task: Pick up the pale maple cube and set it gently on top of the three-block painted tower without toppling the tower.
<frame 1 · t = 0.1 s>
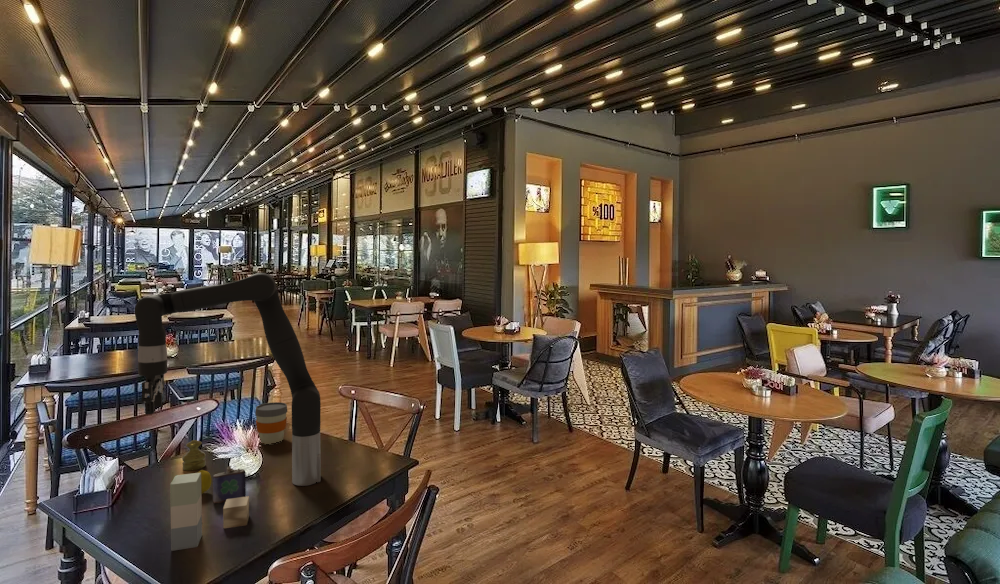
hand: (153, 409, 157), 29 cm above the table, tool pointing down, fingers open, 8 cm apart
tower top: (186, 499, 134), point 12 cm above the table, touching tower mid
reusable coffee cup: (271, 441, 212), on the table
lemon: (202, 494, 163), on the table
tower base: (187, 542, 135), on the table, touching tower mid
maple cube: (236, 522, 146), on the table
flask: (229, 500, 160), on the table
tower mid: (186, 521, 135), point 6 cm above the table, touching tower base, tower top
olive tiered cone: (194, 467, 184), on the table
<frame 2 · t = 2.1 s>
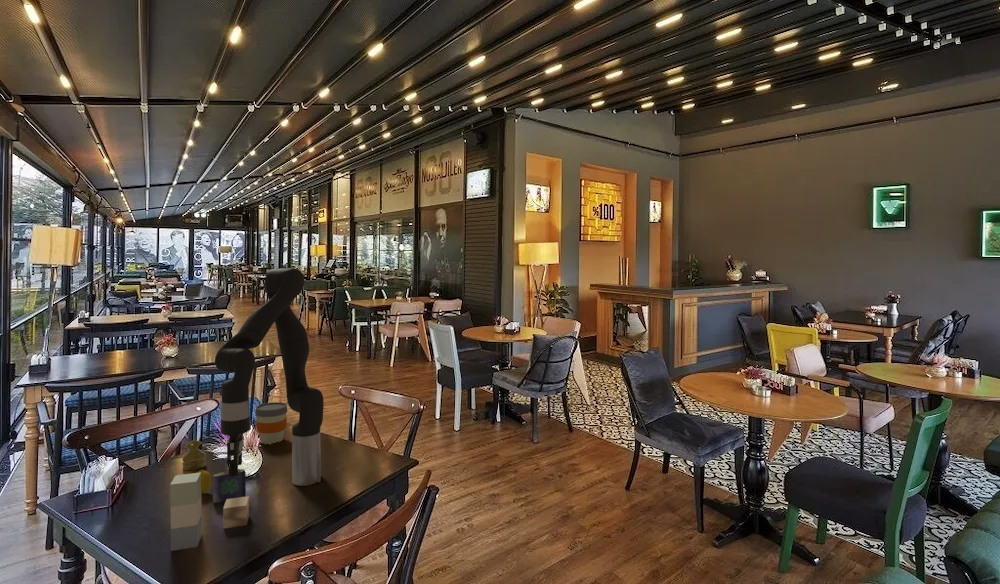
hand: (235, 470, 146), 16 cm above the table, tool pointing down, fingers open, 8 cm apart
nothing on the table moved.
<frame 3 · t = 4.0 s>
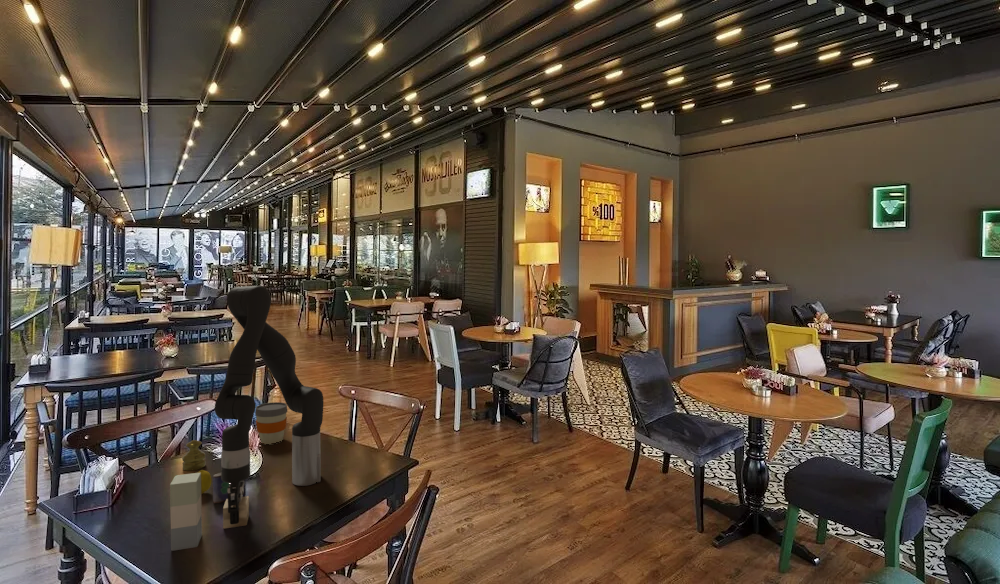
hand: (236, 517, 146), 1 cm above the table, tool pointing down, fingers closed on maple cube, 6 cm apart
maple cube: (236, 521, 146), on the table, touching gripper
everything else where it was.
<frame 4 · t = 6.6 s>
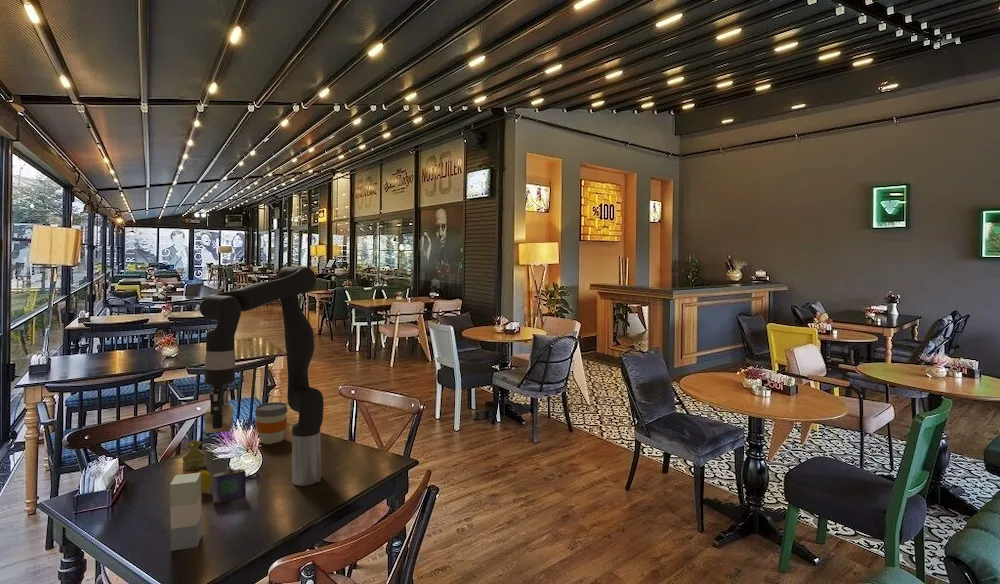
hand: (219, 424, 141), 30 cm above the table, tool pointing down, fingers closed on maple cube, 6 cm apart
maple cube: (219, 428, 141), point 29 cm above the table, touching gripper
everything else where it was.
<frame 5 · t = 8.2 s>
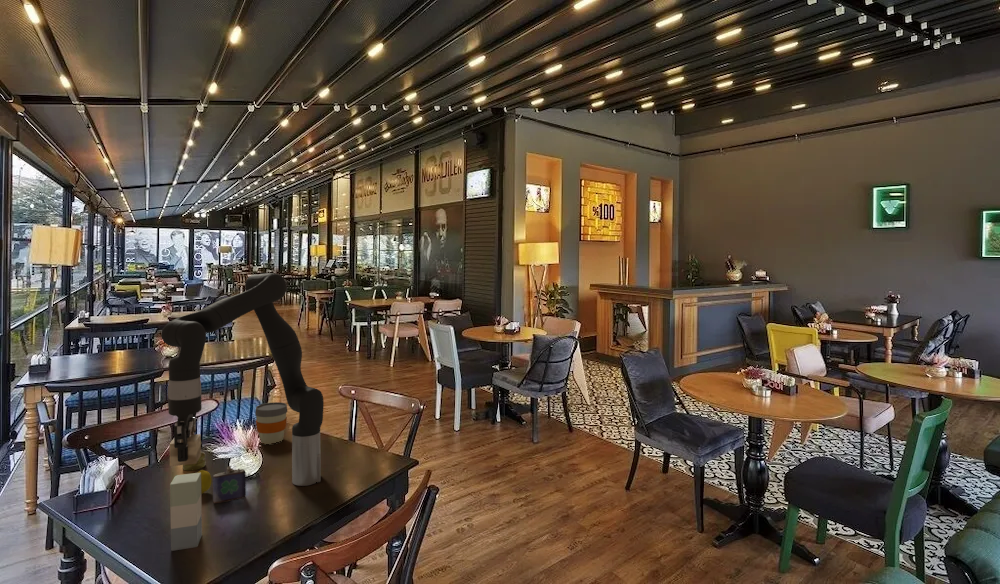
hand: (185, 456, 134), 24 cm above the table, tool pointing down, fingers closed on maple cube, 6 cm apart
maple cube: (185, 460, 134), point 23 cm above the table, touching gripper
everything else where it was.
when the fingers open (21 cm above the table, at t = 9.4 s): maple cube drops 1 cm, resting on tower top.
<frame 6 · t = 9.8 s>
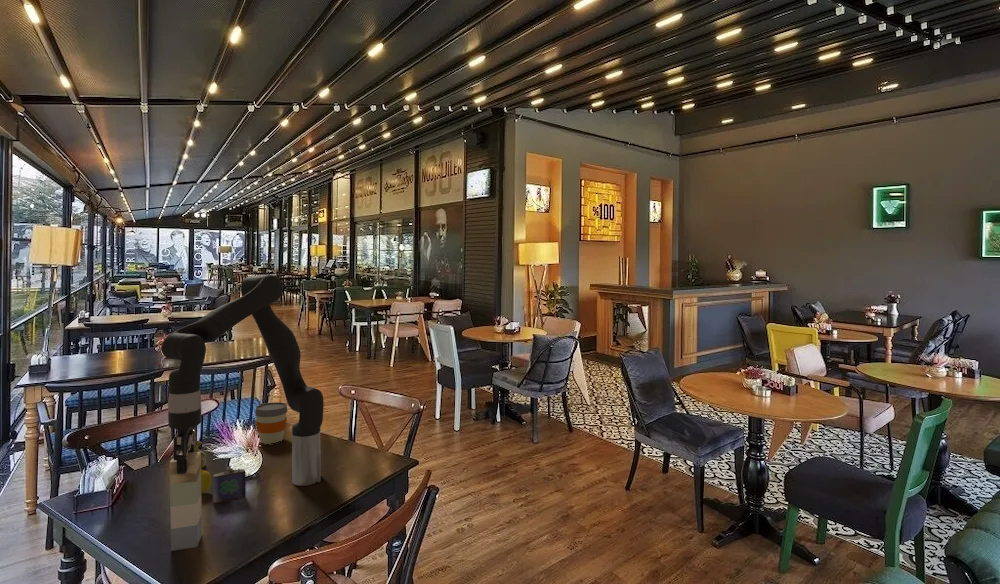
hand: (185, 466, 134), 21 cm above the table, tool pointing down, fingers open, 8 cm apart
tower top: (186, 500, 134), point 12 cm above the table, touching maple cube, tower mid
maple cube: (185, 478, 134), point 18 cm above the table, touching tower top
everything else where it was.
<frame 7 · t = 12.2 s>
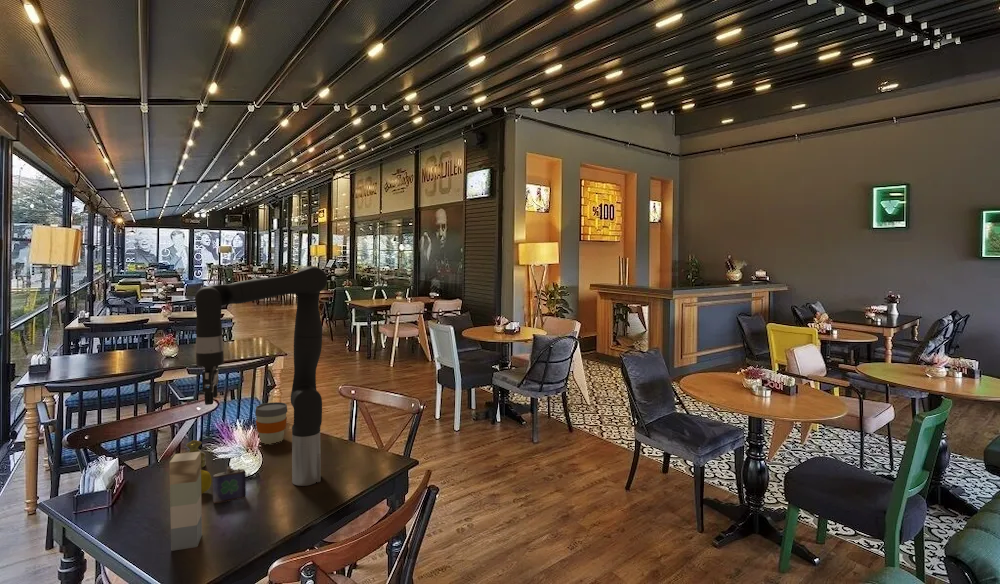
hand: (211, 400, 157), 32 cm above the table, tool pointing down, fingers open, 8 cm apart
nothing on the table moved.
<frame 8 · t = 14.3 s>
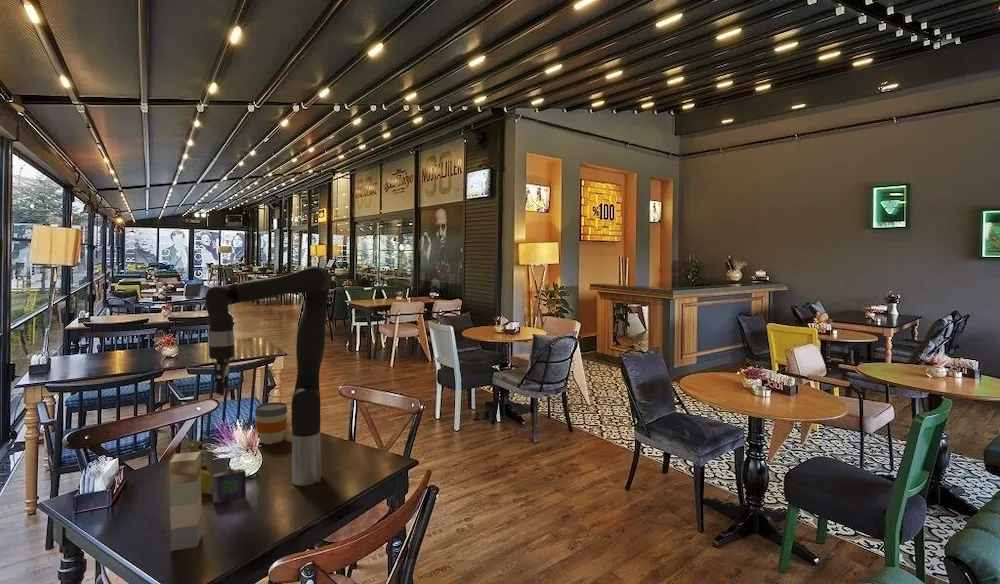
hand: (222, 390, 171), 32 cm above the table, tool pointing down, fingers open, 8 cm apart
nothing on the table moved.
at the end: maple cube 0.1 cm off-centre on the tower top, point 6.0 cm above the tower top's base; tower top moved 0.2 cm from its start; maple cube tilted 0° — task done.
